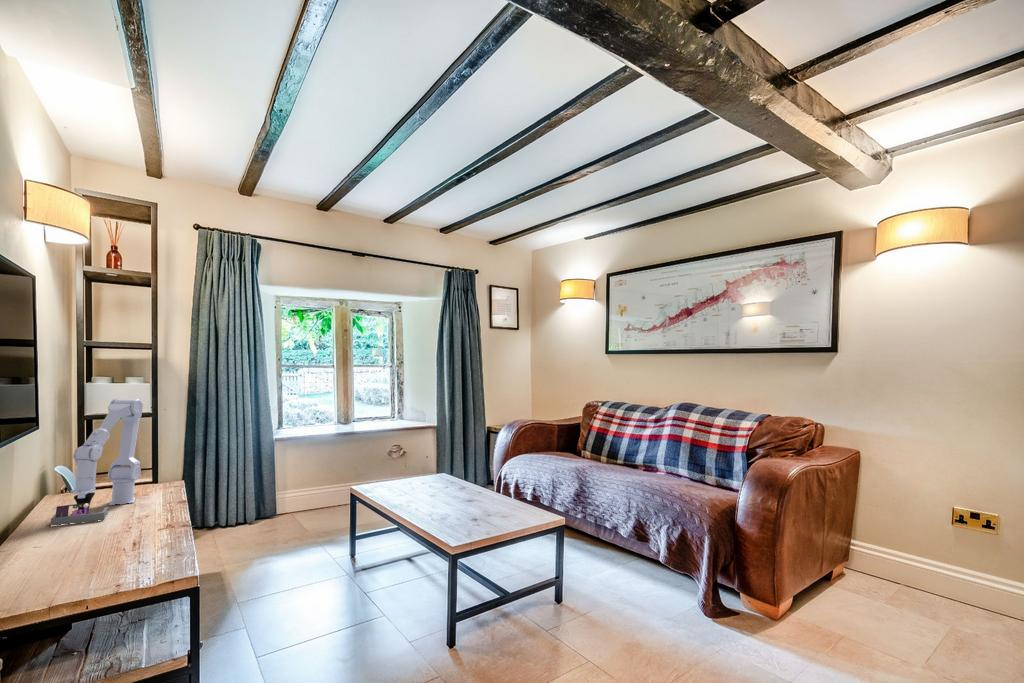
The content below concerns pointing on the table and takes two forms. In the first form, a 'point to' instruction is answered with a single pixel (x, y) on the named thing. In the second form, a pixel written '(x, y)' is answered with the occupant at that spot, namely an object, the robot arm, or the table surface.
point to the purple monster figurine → (63, 511)
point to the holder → (79, 518)
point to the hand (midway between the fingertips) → (83, 513)
